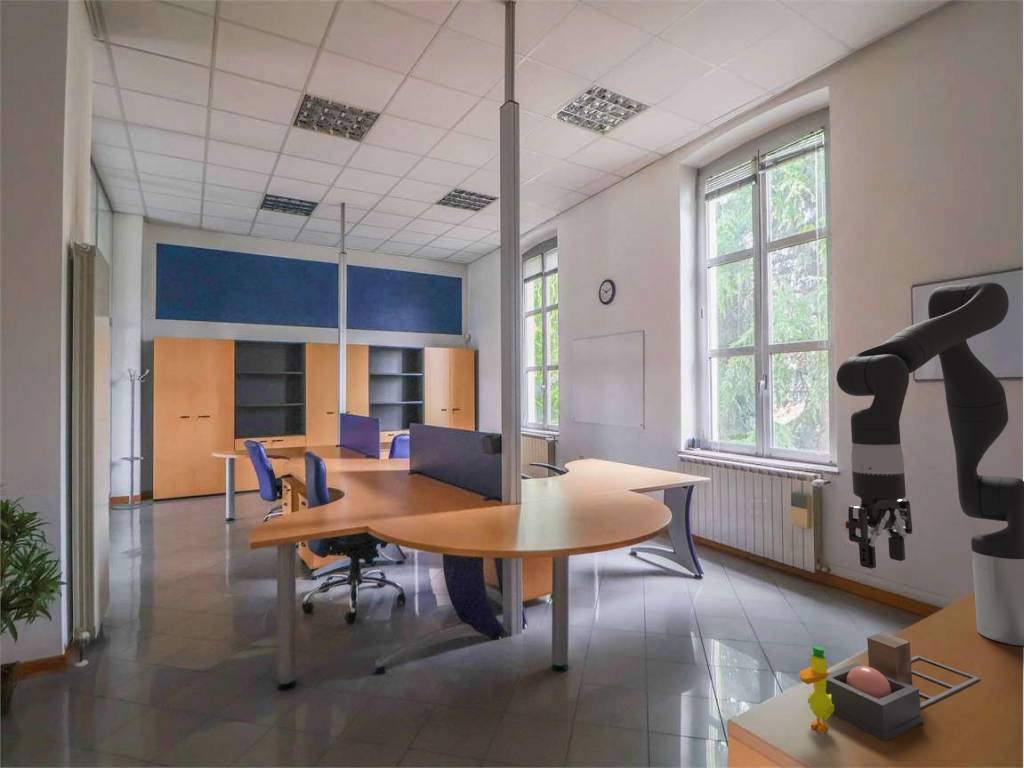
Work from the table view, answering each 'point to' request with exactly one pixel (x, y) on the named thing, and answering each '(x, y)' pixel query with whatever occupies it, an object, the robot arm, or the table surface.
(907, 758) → the table surface
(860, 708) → the housing
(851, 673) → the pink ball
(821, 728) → the toy figure
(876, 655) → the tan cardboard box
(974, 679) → the frame
